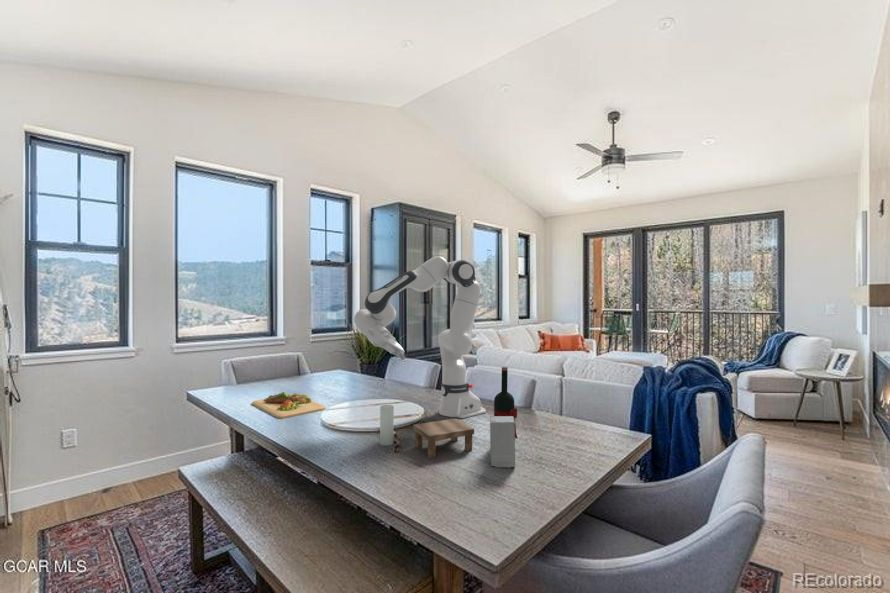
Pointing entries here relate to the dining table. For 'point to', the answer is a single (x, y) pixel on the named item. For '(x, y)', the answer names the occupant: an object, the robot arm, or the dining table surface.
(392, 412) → the pale green cylinder
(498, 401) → the wine bottle
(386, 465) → the dining table surface
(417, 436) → the walnut stool
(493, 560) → the dining table surface
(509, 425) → the skincare box
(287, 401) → the cutting board
